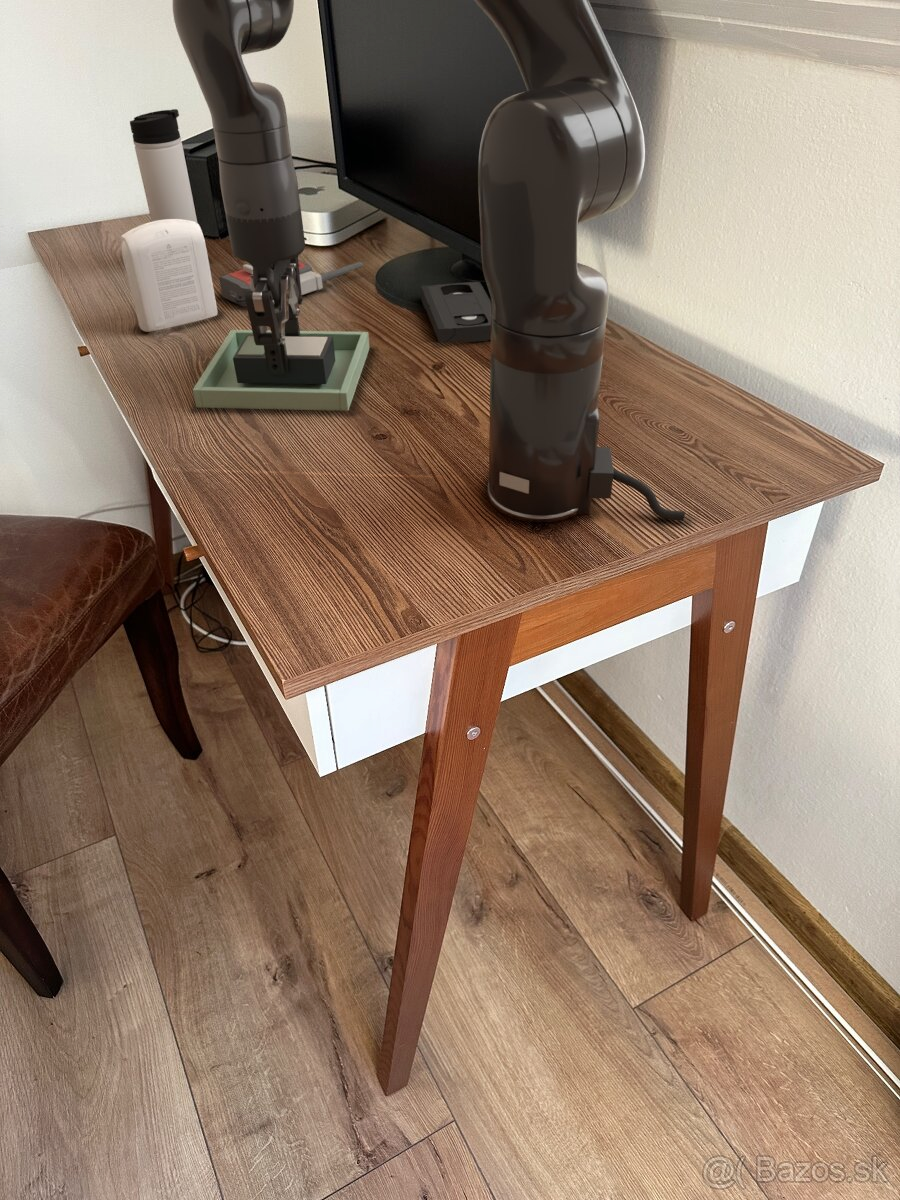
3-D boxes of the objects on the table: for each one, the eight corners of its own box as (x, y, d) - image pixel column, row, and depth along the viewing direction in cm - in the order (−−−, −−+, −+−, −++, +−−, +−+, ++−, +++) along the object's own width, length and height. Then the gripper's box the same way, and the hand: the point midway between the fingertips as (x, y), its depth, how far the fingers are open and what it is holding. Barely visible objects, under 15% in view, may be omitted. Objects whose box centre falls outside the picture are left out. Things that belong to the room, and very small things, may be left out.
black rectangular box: (335, 360, 102) (332, 334, 100) (326, 384, 98) (322, 357, 96) (250, 359, 103) (246, 333, 101) (237, 383, 98) (232, 356, 96)
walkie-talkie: (249, 317, 115) (367, 276, 125) (243, 283, 112) (365, 244, 122) (212, 299, 120) (329, 261, 130) (205, 266, 117) (325, 230, 127)
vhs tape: (502, 339, 108) (503, 323, 107) (439, 345, 107) (438, 329, 106) (479, 295, 119) (479, 280, 118) (421, 300, 118) (420, 285, 117)
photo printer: (211, 307, 118) (192, 209, 110) (224, 317, 115) (205, 218, 107) (135, 325, 113) (109, 225, 105) (146, 336, 111) (121, 234, 103)
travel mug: (201, 270, 128) (171, 115, 115) (156, 271, 128) (120, 116, 115) (211, 255, 133) (182, 105, 120) (167, 255, 133) (134, 106, 120)
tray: (369, 350, 106) (368, 331, 105) (348, 413, 95) (346, 393, 93) (234, 348, 108) (231, 329, 106) (196, 410, 96) (192, 389, 94)
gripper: (283, 227, 83) (306, 392, 94) (313, 184, 94) (330, 336, 105) (205, 227, 84) (236, 391, 94) (243, 184, 95) (268, 335, 105)
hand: (285, 361), depth 99 cm, fingers closed on black rectangular box, 6 cm apart
